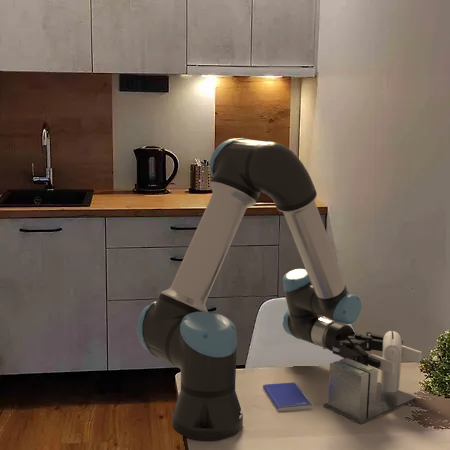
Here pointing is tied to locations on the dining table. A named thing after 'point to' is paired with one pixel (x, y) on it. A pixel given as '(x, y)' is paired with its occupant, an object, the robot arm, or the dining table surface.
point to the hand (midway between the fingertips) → (407, 362)
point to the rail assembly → (360, 392)
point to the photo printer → (393, 353)
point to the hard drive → (286, 396)
